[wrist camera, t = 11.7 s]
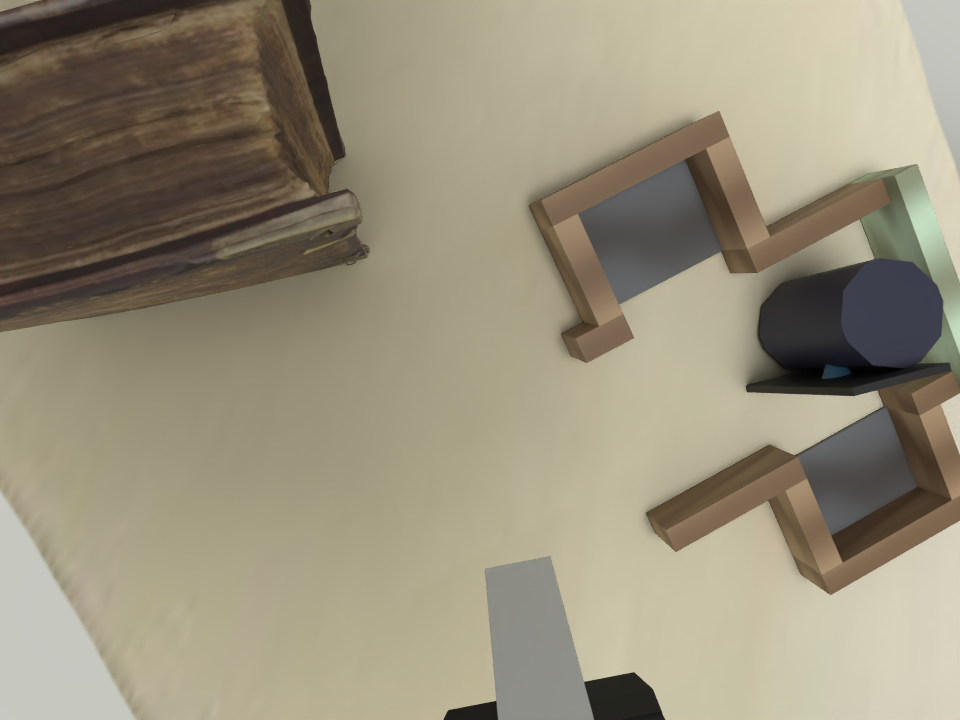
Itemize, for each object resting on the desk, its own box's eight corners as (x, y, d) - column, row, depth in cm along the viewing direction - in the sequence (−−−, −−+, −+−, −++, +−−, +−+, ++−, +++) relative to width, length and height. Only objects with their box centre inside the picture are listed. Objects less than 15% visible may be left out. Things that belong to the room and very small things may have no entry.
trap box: (505, 217, 41) (520, 211, 37) (824, 56, 42) (871, 34, 38) (702, 631, 46) (733, 665, 42) (979, 472, 48) (1034, 490, 44)
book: (58, 323, 38) (-517, 417, 13) (24, 187, 37) (-670, 15, 12) (373, 270, 40) (381, 266, 15) (348, 140, 39) (316, -86, 14)
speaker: (830, 403, 45) (959, 418, 35) (743, 391, 44) (849, 404, 34) (845, 283, 45) (979, 263, 35) (759, 270, 44) (870, 246, 34)
